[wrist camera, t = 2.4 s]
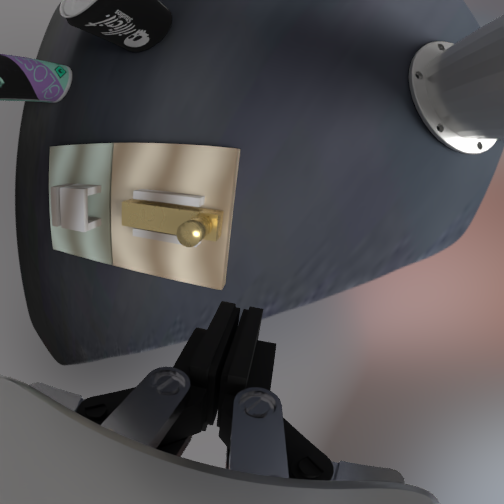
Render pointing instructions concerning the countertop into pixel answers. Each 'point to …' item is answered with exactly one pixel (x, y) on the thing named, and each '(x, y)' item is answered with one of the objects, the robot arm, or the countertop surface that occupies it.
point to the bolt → (174, 220)
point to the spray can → (33, 79)
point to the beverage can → (120, 20)
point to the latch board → (141, 188)
